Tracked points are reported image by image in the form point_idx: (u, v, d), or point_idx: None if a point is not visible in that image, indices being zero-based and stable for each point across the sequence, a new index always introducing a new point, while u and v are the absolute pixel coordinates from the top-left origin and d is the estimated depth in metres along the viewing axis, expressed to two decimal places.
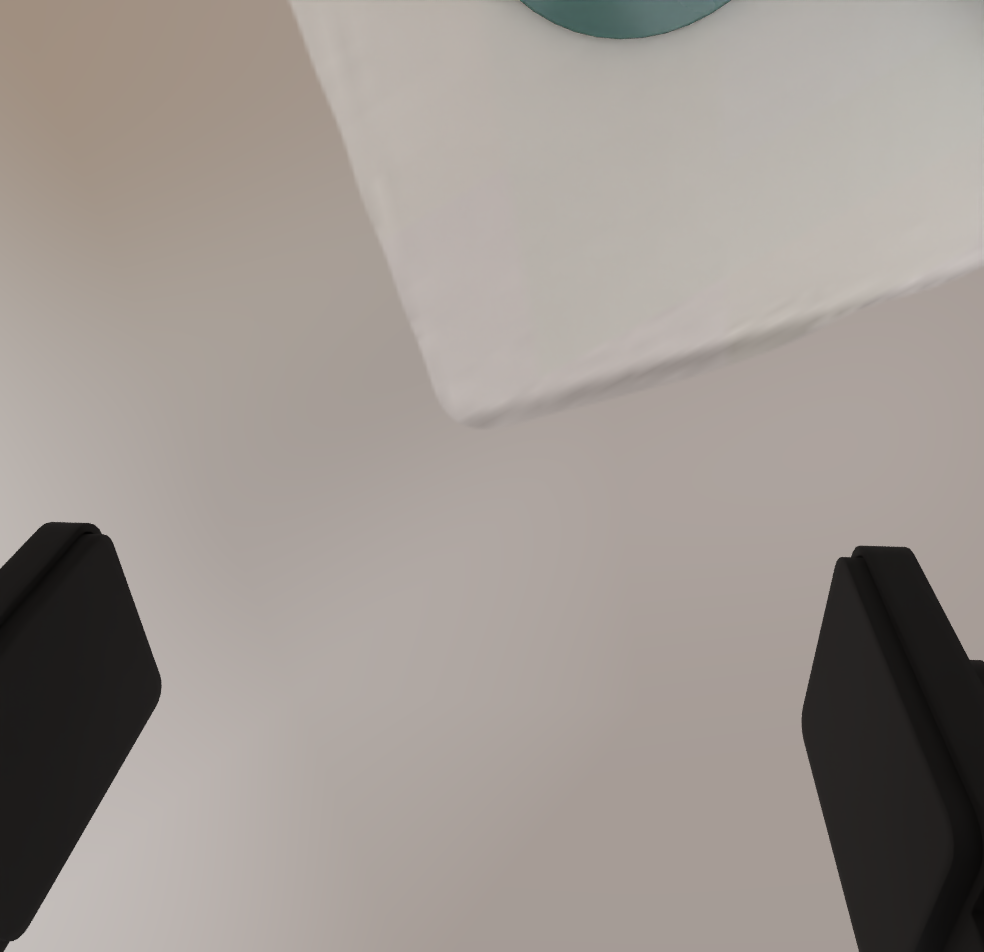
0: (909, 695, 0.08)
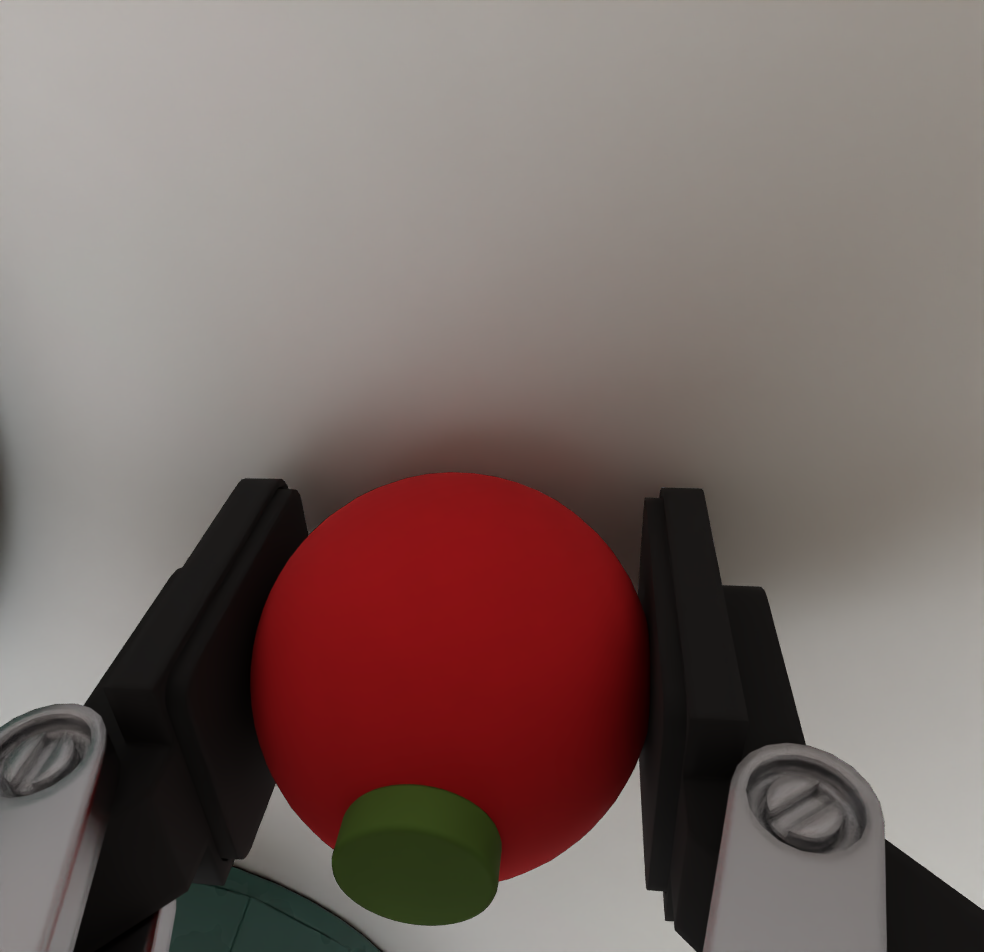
0: (664, 605, 0.09)
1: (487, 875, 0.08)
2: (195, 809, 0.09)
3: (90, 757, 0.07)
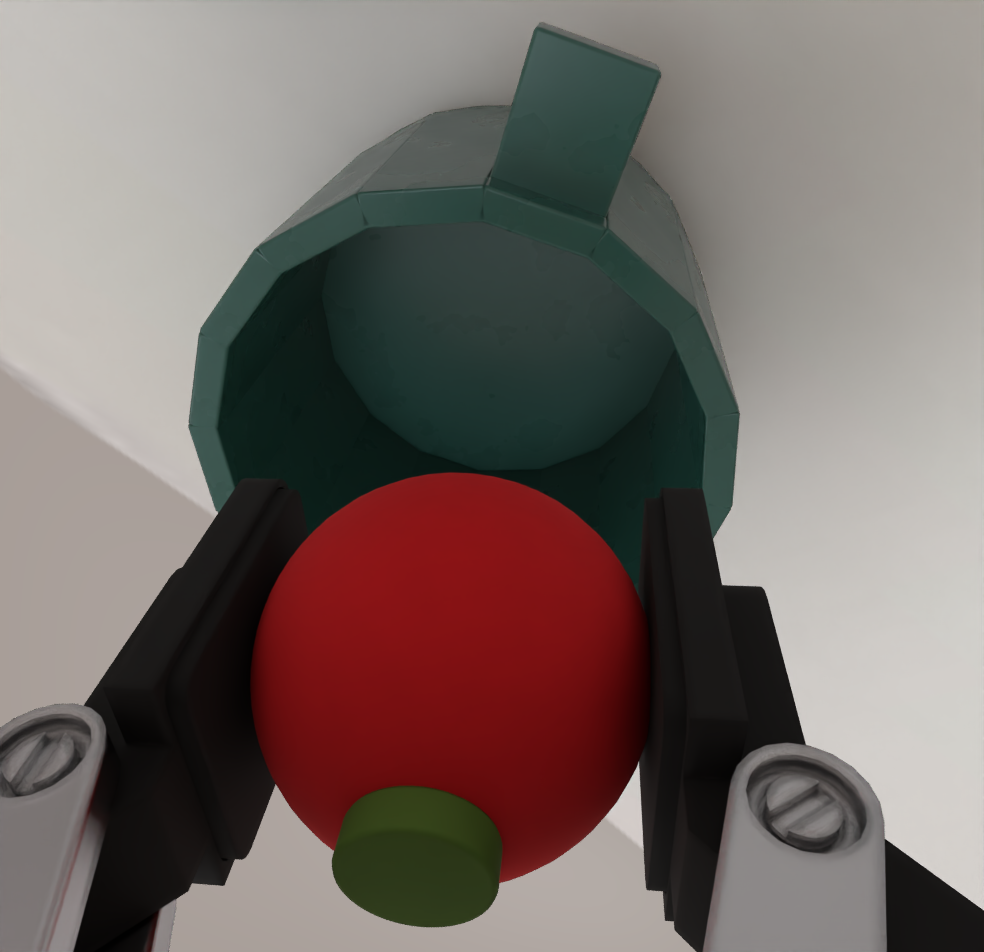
0: (664, 605, 0.09)
1: (488, 876, 0.08)
2: (195, 808, 0.09)
3: (90, 757, 0.07)
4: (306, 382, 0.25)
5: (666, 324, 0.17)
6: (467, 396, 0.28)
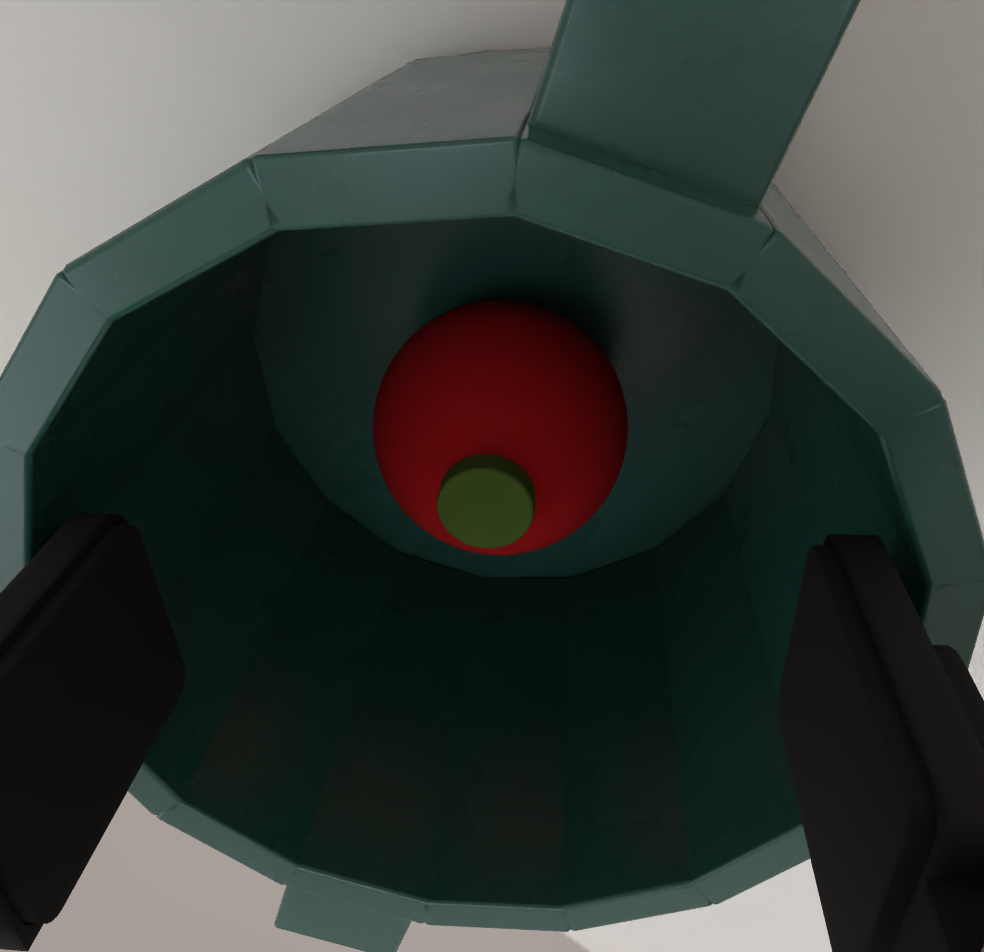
0: (872, 676, 0.08)
1: (528, 500, 0.13)
2: None
3: None
4: (225, 469, 0.17)
5: (876, 421, 0.08)
6: None
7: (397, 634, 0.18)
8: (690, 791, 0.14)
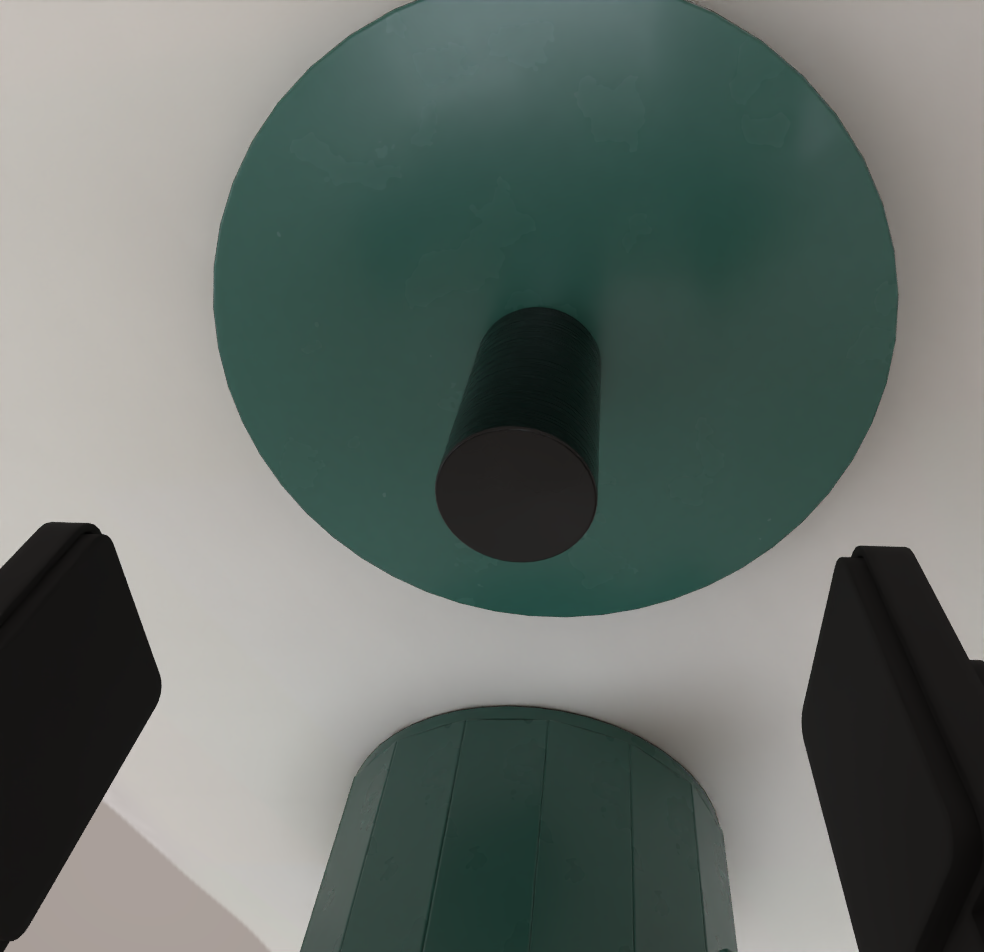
0: (909, 695, 0.08)
1: None
2: None
3: None
4: None
5: None
6: None
7: None
8: None
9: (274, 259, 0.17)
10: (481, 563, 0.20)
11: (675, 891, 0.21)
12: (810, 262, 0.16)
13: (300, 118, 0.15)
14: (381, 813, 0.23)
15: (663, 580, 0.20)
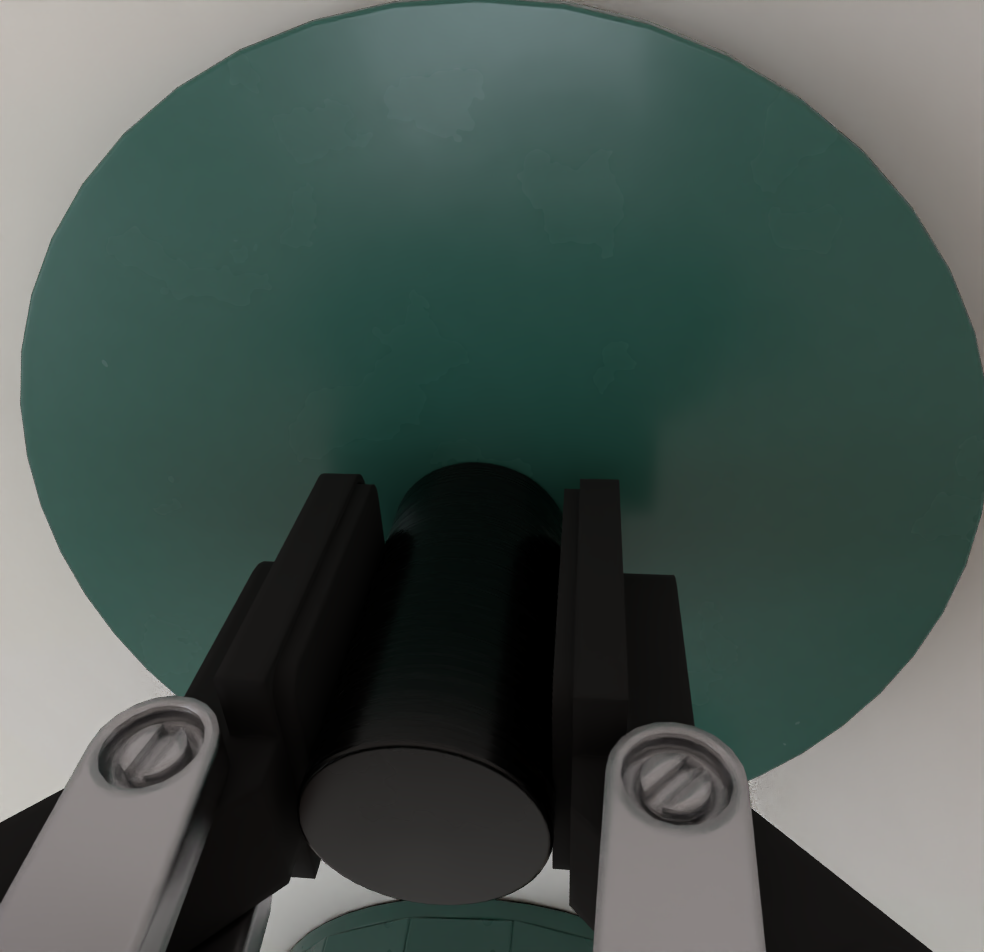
0: (566, 591, 0.09)
1: None
2: (294, 800, 0.09)
3: (207, 748, 0.08)
4: None
5: None
6: None
7: None
8: None
9: (102, 396, 0.12)
10: None
11: None
12: (865, 410, 0.11)
13: (116, 207, 0.10)
14: None
15: None
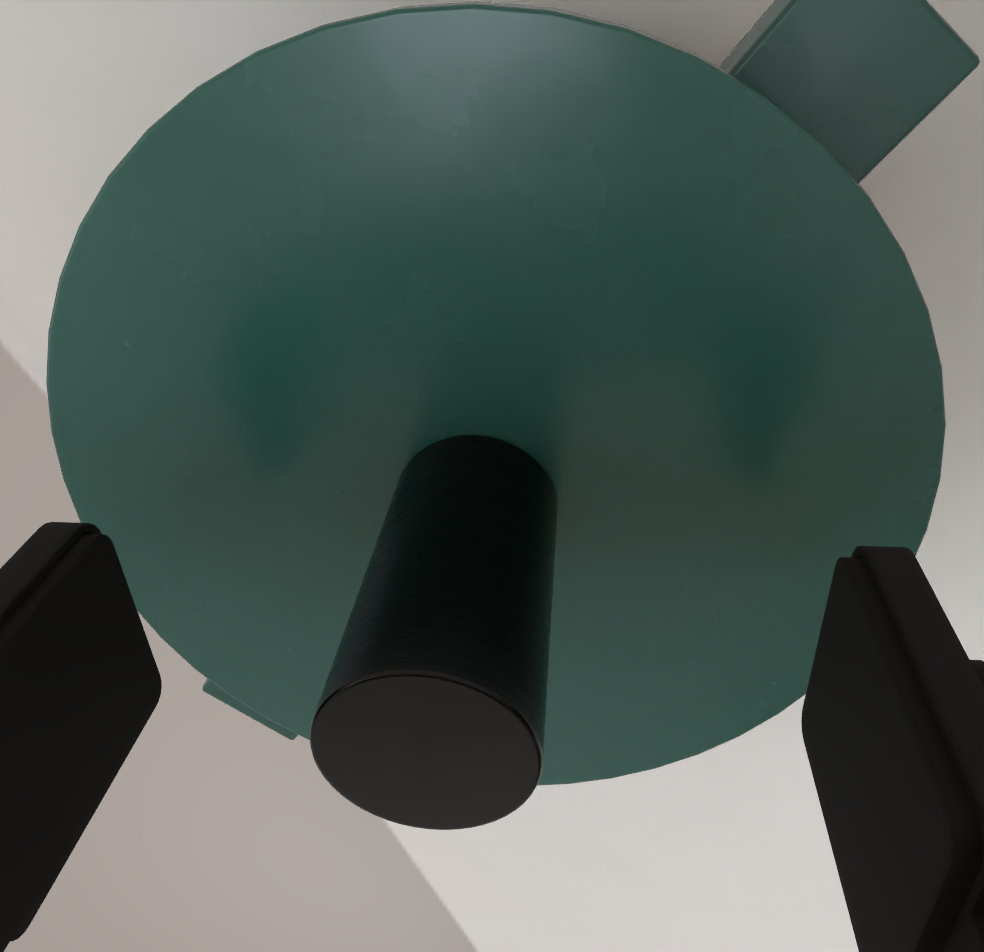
0: (909, 695, 0.08)
1: None
2: None
3: None
4: None
5: None
6: None
7: None
8: None
9: (124, 374, 0.13)
10: None
11: None
12: (830, 383, 0.12)
13: (140, 197, 0.11)
14: None
15: (642, 748, 0.16)
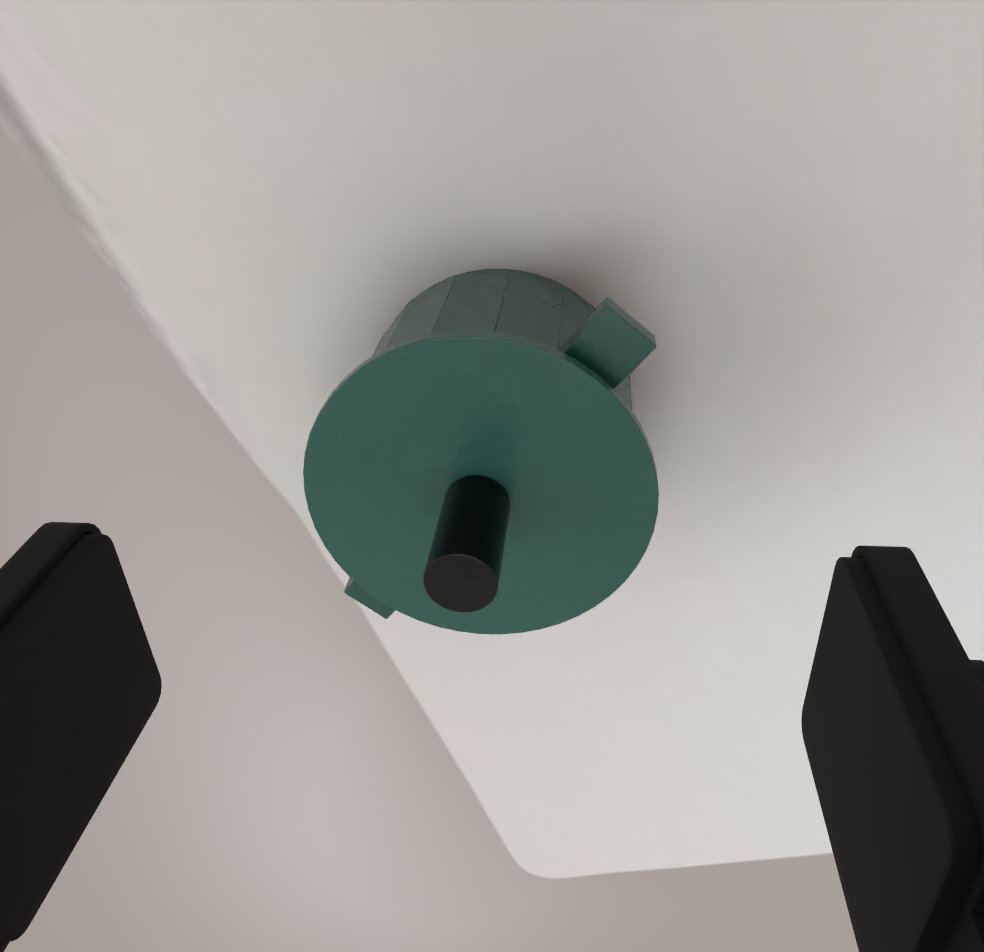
0: (910, 695, 0.08)
1: None
2: None
3: None
4: None
5: None
6: None
7: None
8: None
9: (337, 450, 0.32)
10: None
11: None
12: (610, 457, 0.31)
13: (354, 389, 0.31)
14: (402, 320, 0.36)
15: (552, 613, 0.35)
